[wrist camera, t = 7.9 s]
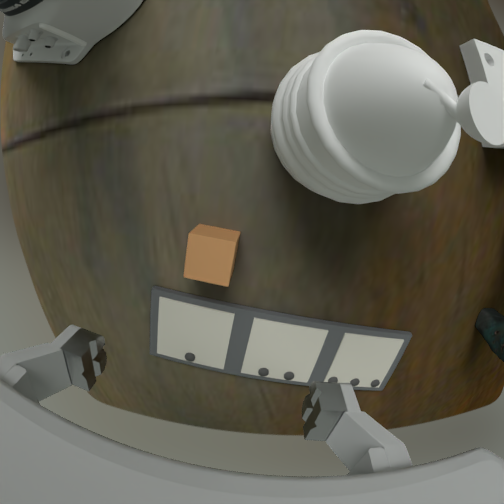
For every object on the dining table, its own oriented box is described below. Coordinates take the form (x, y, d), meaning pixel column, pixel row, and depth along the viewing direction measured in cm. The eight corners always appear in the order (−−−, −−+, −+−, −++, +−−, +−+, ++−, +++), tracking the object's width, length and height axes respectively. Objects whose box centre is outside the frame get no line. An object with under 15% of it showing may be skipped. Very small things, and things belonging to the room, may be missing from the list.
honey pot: (416, 113, 22) (552, 84, 5) (365, 221, 26) (489, 302, 9) (305, 47, 21) (350, -82, 4) (246, 158, 25) (205, 135, 8)
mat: (151, 350, 31) (148, 356, 30) (154, 285, 29) (150, 289, 28) (380, 386, 32) (383, 392, 31) (409, 331, 29) (413, 336, 28)
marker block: (194, 262, 28) (183, 277, 24) (199, 223, 27) (189, 233, 23) (233, 270, 28) (228, 286, 24) (240, 231, 27) (236, 242, 23)
